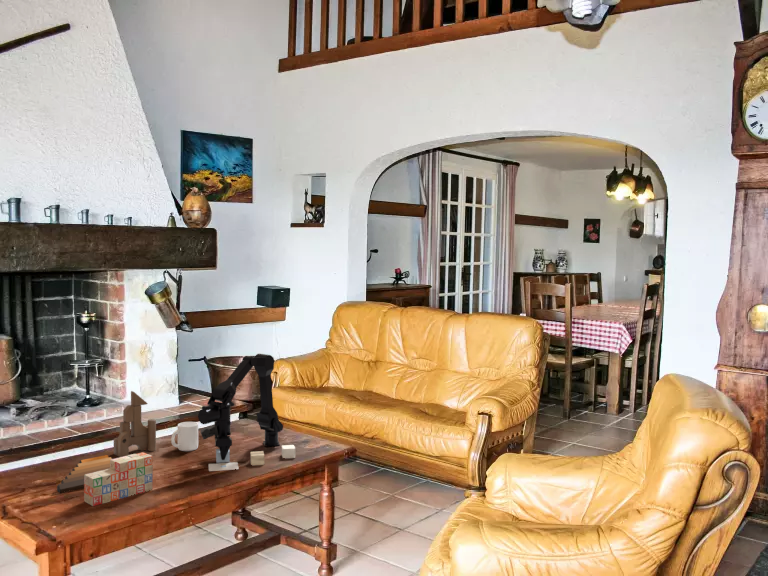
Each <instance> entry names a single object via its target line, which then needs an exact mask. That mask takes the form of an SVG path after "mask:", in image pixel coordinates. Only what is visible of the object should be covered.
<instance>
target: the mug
mask: <svg viewBox="0 0 768 576" xmlns="http://www.w3.org/2000/svg"><path fill="white" fill-rule="evenodd" d="M176 436H177V443H176V441H175V439H176V438H175V437H176ZM170 442H171V445H172V446H173V447H175V448H177V449H178V450H179V451H181V452H192V451H195V450H197V449H198V447H199V423H198V422H197V421H183V422H180V423H178V424H177V429H176V430H174V432H173V433H172V435H171V439H170Z"/></svg>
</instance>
